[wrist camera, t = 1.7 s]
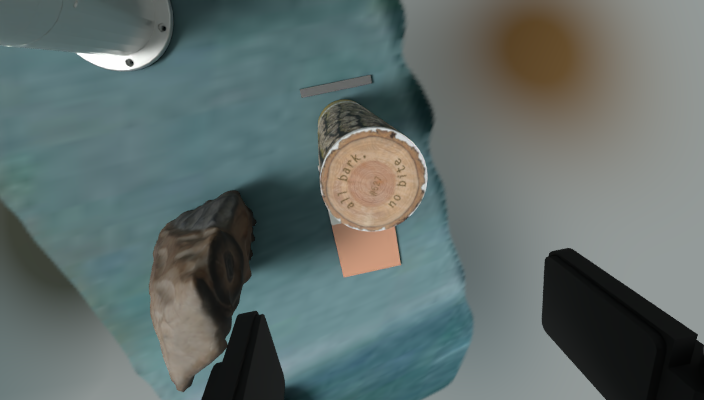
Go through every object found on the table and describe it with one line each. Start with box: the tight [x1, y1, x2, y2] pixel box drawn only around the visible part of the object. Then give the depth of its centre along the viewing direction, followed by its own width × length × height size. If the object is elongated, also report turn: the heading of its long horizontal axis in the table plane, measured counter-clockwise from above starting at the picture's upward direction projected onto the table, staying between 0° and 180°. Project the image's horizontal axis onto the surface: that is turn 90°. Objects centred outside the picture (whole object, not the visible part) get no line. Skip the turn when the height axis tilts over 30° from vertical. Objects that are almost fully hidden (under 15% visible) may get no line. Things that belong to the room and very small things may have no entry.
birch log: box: [318, 99, 427, 232], centre depth 33 cm, size 7×7×25 cm
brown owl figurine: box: [149, 190, 257, 392], centre depth 39 cm, size 13×13×20 cm
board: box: [300, 75, 401, 277], centre depth 47 cm, size 28×9×1 cm, turn 11°
